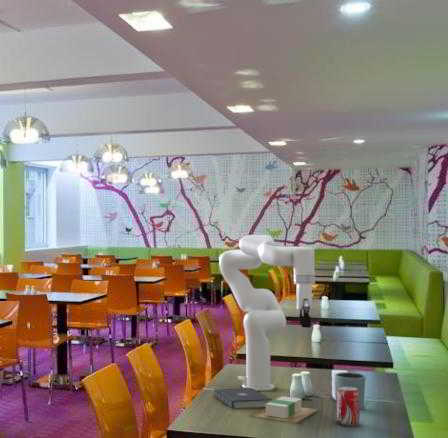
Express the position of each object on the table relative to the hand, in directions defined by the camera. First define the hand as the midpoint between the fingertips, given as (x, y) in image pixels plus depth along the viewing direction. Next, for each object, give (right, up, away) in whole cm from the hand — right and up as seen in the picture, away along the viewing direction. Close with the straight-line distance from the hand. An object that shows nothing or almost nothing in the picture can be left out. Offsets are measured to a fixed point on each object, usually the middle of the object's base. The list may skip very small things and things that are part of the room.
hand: (305, 325), depth 290 cm
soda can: (+4, -29, -30) cm, 42 cm away
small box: (+16, -29, +6) cm, 34 cm away
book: (-23, -29, +1) cm, 37 cm away
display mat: (-12, -29, -16) cm, 35 cm away
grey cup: (+14, -29, -7) cm, 33 cm away
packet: (-13, -28, -17) cm, 35 cm away
